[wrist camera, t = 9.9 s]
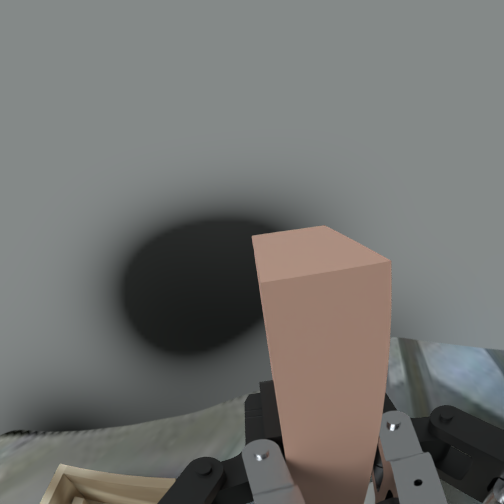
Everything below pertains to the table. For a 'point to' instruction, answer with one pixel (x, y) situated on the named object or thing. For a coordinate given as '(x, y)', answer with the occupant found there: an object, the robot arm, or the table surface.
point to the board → (326, 355)
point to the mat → (370, 495)
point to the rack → (103, 488)
